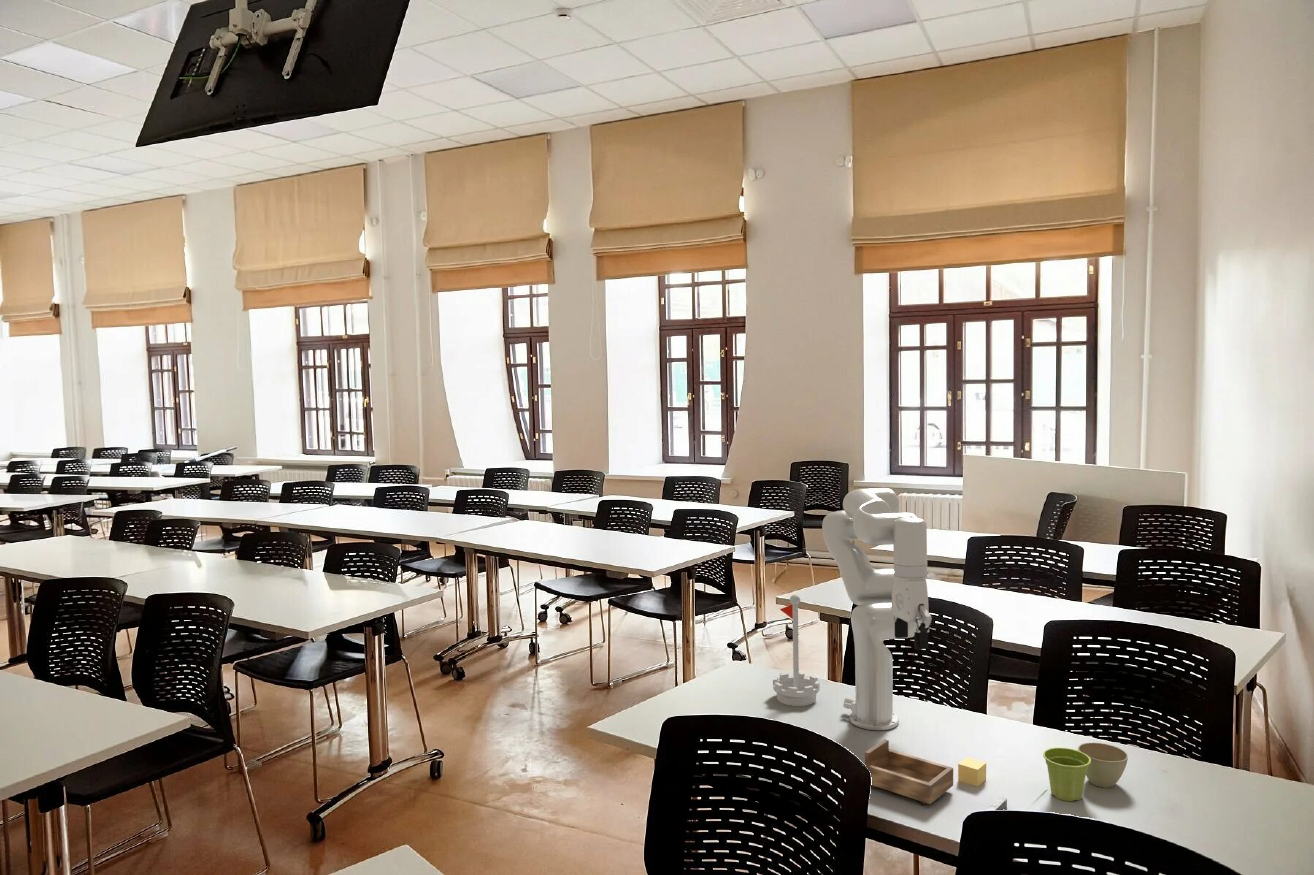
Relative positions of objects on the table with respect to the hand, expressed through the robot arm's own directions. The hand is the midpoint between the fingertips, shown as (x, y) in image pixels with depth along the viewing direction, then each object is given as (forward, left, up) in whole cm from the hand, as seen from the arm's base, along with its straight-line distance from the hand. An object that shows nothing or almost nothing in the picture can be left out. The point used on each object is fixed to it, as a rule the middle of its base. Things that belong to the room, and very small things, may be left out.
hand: (911, 643), depth 214 cm
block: (+15, -1, -29) cm, 33 cm away
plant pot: (+33, +6, -29) cm, 45 cm away
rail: (+11, -14, -29) cm, 34 cm away
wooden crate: (+6, -14, -28) cm, 32 cm away
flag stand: (-44, +17, -29) cm, 55 cm away
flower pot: (+37, +17, -29) cm, 50 cm away
